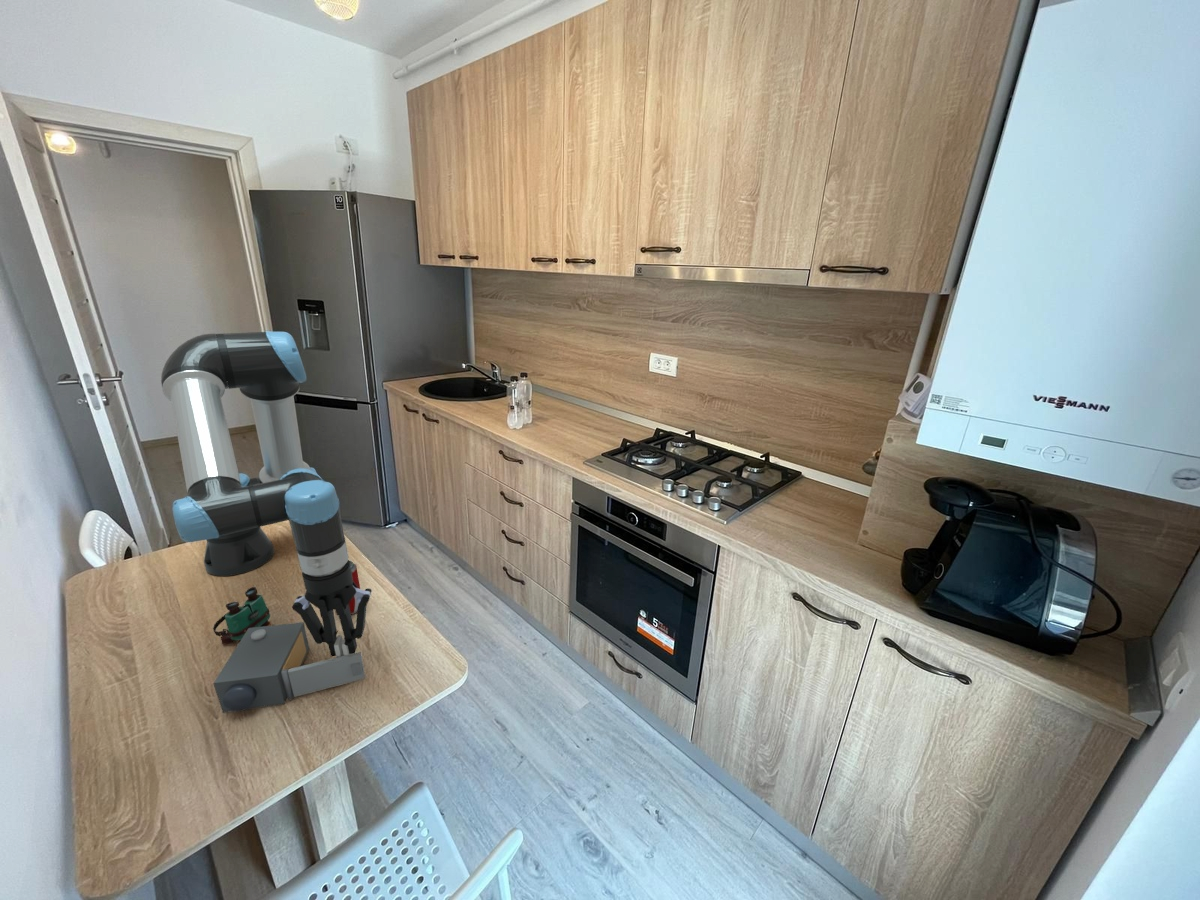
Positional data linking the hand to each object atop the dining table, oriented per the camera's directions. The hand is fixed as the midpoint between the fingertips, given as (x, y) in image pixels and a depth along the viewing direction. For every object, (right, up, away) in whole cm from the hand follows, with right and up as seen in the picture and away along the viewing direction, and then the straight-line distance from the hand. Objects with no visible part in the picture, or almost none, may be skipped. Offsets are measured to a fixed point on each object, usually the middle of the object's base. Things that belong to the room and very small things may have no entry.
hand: (347, 665), depth 95 cm
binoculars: (-28, +2, +10) cm, 30 cm away
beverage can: (-10, +5, +19) cm, 22 cm away
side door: (-3, -4, -2) cm, 5 cm away
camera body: (-15, -2, 0) cm, 15 cm away
